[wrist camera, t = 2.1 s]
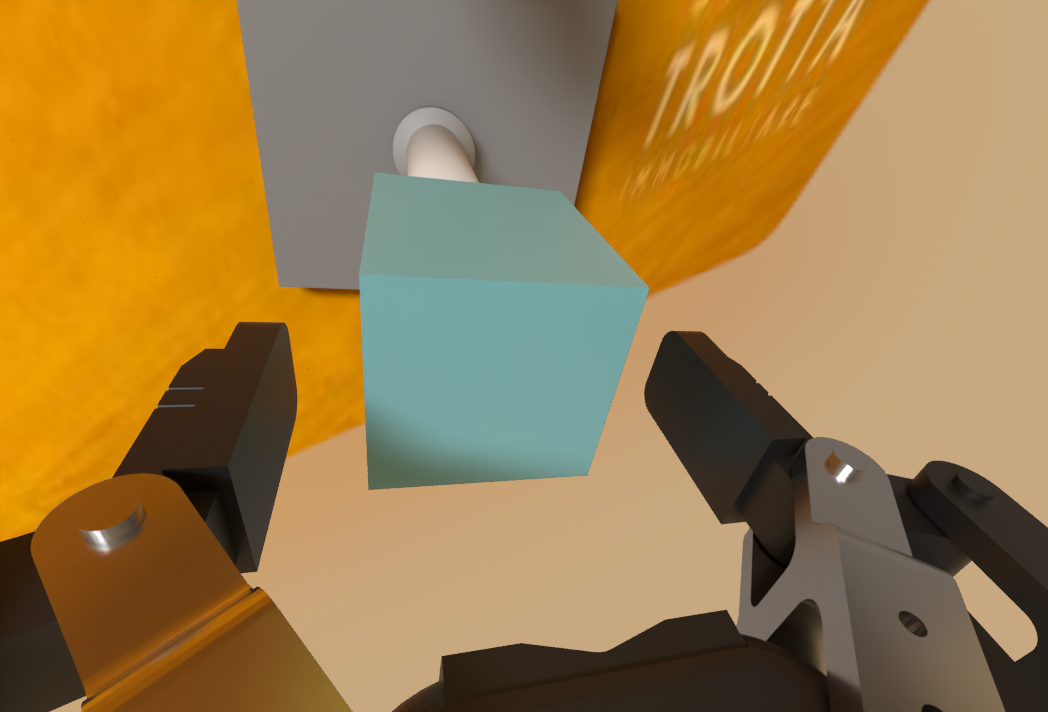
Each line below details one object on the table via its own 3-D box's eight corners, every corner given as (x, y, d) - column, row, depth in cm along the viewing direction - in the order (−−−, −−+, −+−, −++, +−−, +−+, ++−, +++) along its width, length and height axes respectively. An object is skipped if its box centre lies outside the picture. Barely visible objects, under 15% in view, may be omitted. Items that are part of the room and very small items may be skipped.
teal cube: (374, 172, 12) (358, 274, 7) (560, 190, 13) (649, 288, 9) (378, 337, 15) (368, 489, 10) (531, 339, 16) (587, 475, 11)
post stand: (233, -101, 21) (-124, -354, 7) (607, -16, 26) (871, -56, 11) (285, 272, 31) (187, 493, 17) (547, 284, 35) (648, 465, 21)
